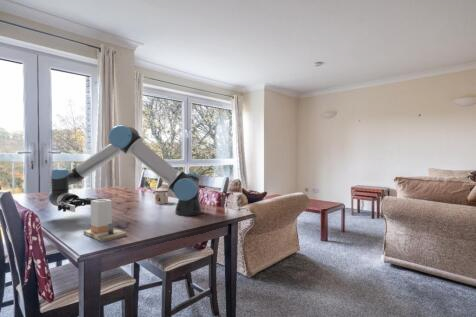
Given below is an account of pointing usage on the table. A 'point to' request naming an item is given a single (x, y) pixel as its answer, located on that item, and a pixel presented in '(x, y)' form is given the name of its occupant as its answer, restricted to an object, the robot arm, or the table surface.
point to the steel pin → (110, 228)
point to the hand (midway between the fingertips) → (90, 206)
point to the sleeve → (101, 215)
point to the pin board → (105, 235)
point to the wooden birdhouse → (161, 195)
